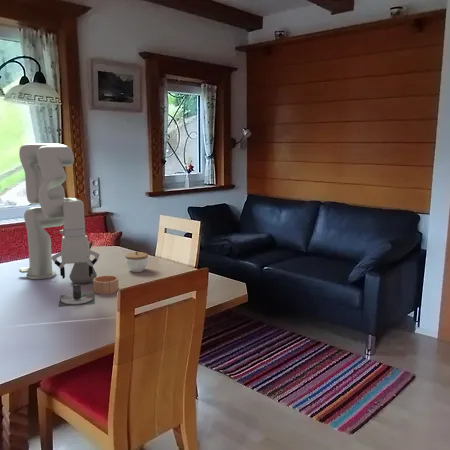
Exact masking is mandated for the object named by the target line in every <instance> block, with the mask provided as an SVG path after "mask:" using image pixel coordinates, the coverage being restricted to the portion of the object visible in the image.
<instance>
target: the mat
mask: <svg viewBox="0 0 450 450" xmlns="http://www.w3.org/2000/svg"><path fill="white" fill-rule="evenodd" d="M95 293H96V292H90V294H92V295H93V300H92V301H91V302H88V303H85V304H80V305H79V306H87V305H88V306H89V305H90V306H91V305H95V304H96V294H95ZM65 295H66V294H62V295H60V297H59V302H58V308H60V307H61V308H62V307H64V308H65V307H74V306H78V305H67V304H63V303H62V302H61V298H62V297H63V296H65Z"/></svg>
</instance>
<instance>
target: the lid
mask: <svg viewBox="0 0 450 450" xmlns="http://www.w3.org/2000/svg"><path fill="white" fill-rule="evenodd" d="M90 293H91V292H90ZM90 293H89V292H82V284H75V283H73V284H72V293H68V294H64V295H65V296H63V297H62V298H61V302H62V303H63V304H67V305H77V306H81V305H80V304H85V303H88V302H91V301H92V300H93V295H92V294H90Z"/></svg>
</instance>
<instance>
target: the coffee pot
mask: <svg viewBox="0 0 450 450" xmlns="http://www.w3.org/2000/svg"><path fill="white" fill-rule="evenodd" d="M94 245H96V243H95V242H94V241H91V242H89V250H91V248H92V246H94ZM96 277H98V275H97V272H96V270H95V269H94V267H93V274H91V277H90V276H89V264H88V263H87V262H86V263H73V266H72V268H71V270H70V274H69V279H70V280H71V282H73V284H81V285H85V284H93V279H94V278H96Z"/></svg>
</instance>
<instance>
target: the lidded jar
mask: <svg viewBox="0 0 450 450" xmlns="http://www.w3.org/2000/svg"><path fill="white" fill-rule="evenodd" d="M124 259H125V264H126V266H127V267H126V268H127V269H129V271H130V272H132V273H133V272H134V273H139V272H143V271H144V270H145V268H146V267H147V266H148V263H149V262H148V260H149V254H148V253H146V252H142V251H141V252H140V251H137V250H135V252H128V253H126V254H125V258H124Z"/></svg>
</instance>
